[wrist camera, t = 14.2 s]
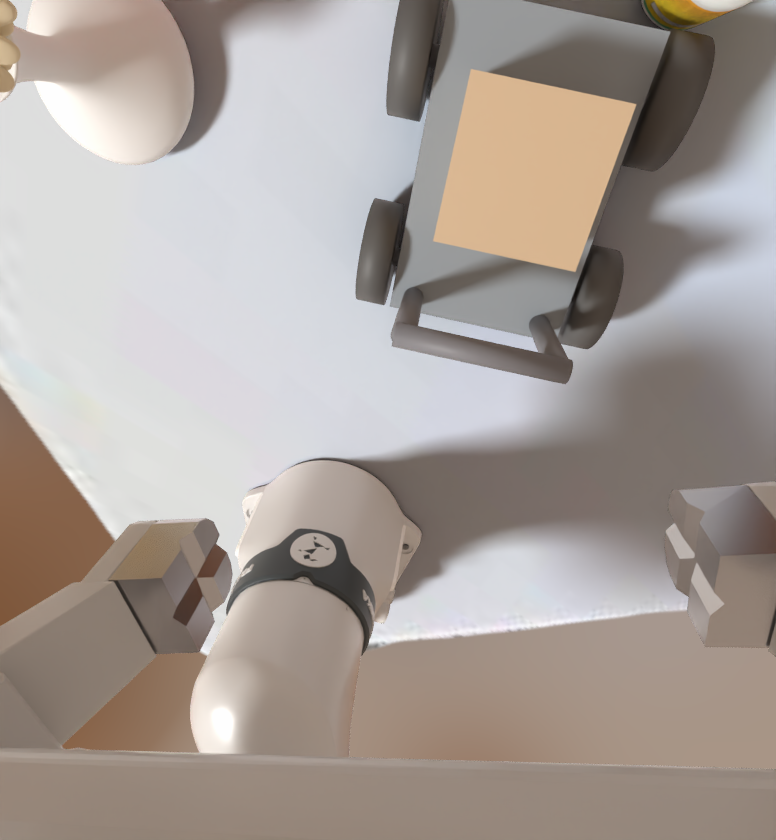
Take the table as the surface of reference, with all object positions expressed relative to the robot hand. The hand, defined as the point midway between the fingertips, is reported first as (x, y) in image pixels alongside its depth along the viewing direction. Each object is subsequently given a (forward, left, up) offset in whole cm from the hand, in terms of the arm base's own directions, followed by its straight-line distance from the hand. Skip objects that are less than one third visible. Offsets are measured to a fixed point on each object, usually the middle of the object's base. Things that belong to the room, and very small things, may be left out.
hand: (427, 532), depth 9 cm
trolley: (+4, -3, -34) cm, 34 cm away
